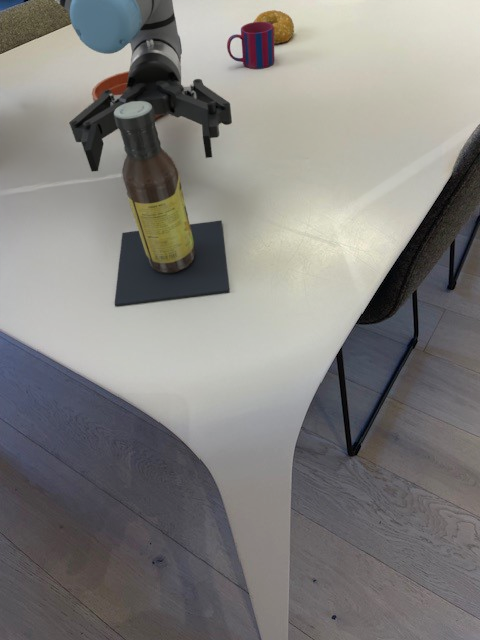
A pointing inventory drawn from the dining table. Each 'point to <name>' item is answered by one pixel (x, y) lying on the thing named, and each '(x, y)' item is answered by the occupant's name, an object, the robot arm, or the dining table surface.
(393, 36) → the dining table surface
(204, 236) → the mat
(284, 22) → the bagel
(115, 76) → the dish
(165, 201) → the sauce bottle
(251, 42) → the mug
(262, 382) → the dining table surface
